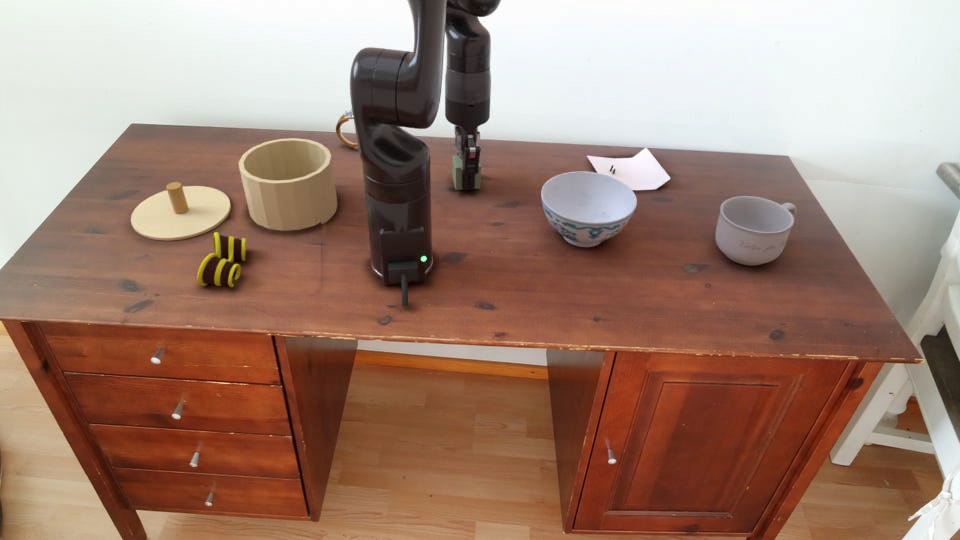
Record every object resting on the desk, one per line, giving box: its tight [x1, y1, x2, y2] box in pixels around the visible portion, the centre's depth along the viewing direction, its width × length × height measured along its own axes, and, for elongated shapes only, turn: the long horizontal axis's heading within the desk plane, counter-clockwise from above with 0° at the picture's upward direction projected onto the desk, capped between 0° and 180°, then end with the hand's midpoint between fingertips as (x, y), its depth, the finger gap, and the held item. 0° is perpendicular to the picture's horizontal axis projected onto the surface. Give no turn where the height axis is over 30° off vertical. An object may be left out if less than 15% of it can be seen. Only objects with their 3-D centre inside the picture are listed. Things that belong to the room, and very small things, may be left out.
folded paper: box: [586, 147, 671, 191], centre depth 123 cm, size 12×12×2 cm
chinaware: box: [540, 170, 638, 248], centre depth 106 cm, size 15×15×8 cm
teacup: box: [715, 195, 798, 266], centre depth 104 cm, size 14×11×8 cm
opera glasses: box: [196, 231, 247, 288], centre depth 97 cm, size 10×5×5 cm, turn 4°
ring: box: [335, 107, 358, 150], centre depth 126 cm, size 7×3×8 cm, turn 82°
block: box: [451, 154, 482, 191], centre depth 117 cm, size 4×4×4 cm
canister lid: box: [130, 181, 232, 242], centre depth 107 cm, size 15×15×6 cm
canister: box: [238, 137, 338, 232], centre depth 109 cm, size 14×15×10 cm
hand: (466, 181), depth 119 cm, fingers closed on block, 4 cm apart
